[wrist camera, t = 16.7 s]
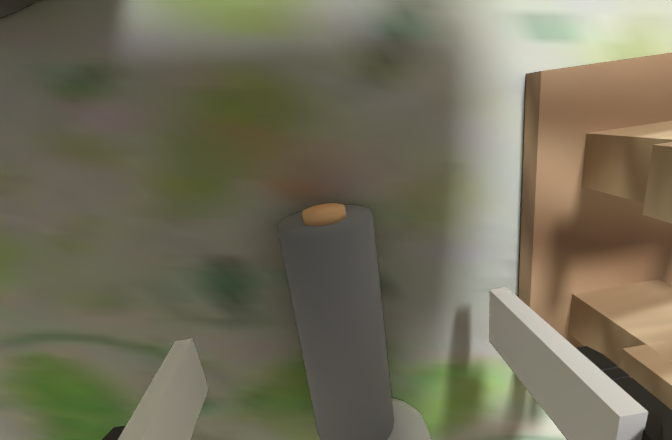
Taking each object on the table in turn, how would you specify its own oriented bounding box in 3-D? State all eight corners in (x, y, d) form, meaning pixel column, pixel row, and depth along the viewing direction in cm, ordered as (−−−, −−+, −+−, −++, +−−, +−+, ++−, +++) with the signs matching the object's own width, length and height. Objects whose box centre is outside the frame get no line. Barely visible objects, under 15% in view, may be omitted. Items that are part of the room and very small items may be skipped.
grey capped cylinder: (284, 202, 16) (265, 231, 12) (368, 192, 16) (375, 218, 12) (320, 396, 20) (314, 465, 16) (389, 391, 20) (400, 459, 16)
